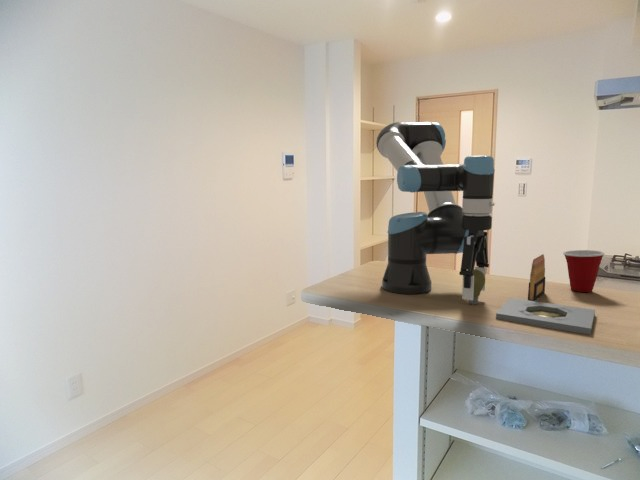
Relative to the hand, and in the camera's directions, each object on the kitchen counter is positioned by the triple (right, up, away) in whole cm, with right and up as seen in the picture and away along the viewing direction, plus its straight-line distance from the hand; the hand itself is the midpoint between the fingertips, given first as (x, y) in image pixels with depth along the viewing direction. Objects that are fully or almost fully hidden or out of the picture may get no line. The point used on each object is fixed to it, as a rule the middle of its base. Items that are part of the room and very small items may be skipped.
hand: (473, 294), depth 119 cm
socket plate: (+14, -4, -11) cm, 18 cm away
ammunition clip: (+21, -2, +8) cm, 22 cm away
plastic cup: (+38, 0, +14) cm, 40 cm away
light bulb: (0, -3, +1) cm, 3 cm away
